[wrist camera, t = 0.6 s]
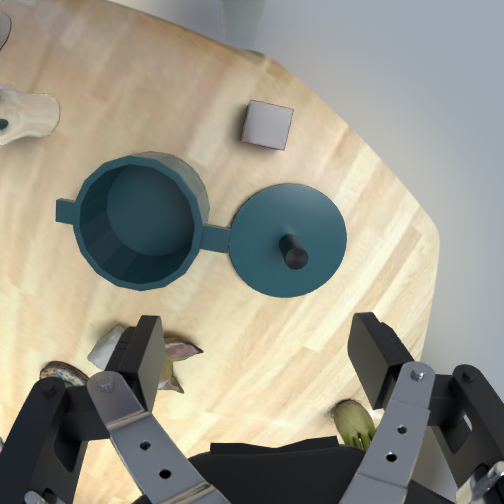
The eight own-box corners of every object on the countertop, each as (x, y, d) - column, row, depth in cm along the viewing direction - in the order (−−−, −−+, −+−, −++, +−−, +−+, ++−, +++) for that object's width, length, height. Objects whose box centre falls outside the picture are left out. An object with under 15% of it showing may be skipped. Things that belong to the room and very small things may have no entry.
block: (248, 103, 34) (250, 99, 30) (286, 112, 35) (293, 109, 30) (240, 140, 35) (241, 141, 31) (278, 149, 36) (284, 150, 32)
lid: (242, 171, 37) (243, 177, 31) (357, 198, 38) (376, 208, 33) (219, 283, 42) (217, 306, 36) (325, 300, 43) (337, 324, 38)
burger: (40, 351, 45) (22, 378, 38) (99, 375, 47) (85, 405, 40) (46, 395, 48) (31, 420, 41) (99, 416, 50) (88, 444, 43)
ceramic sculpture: (88, 337, 33) (204, 377, 37) (107, 300, 41) (205, 335, 45) (80, 390, 37) (180, 423, 40) (95, 352, 45) (183, 382, 48)
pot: (91, 143, 34) (57, 147, 26) (241, 166, 37) (243, 175, 29) (82, 246, 39) (52, 271, 31) (219, 272, 41) (216, 305, 33)
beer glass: (64, 86, 31) (-9, 72, 17) (62, 138, 34) (-13, 146, 20) (24, 95, 31) (-51, 90, 17) (23, 144, 33) (-53, 157, 19)
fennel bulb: (366, 398, 51) (387, 447, 40) (354, 415, 53) (372, 463, 41) (338, 396, 50) (357, 448, 39) (327, 414, 52) (342, 465, 41)
